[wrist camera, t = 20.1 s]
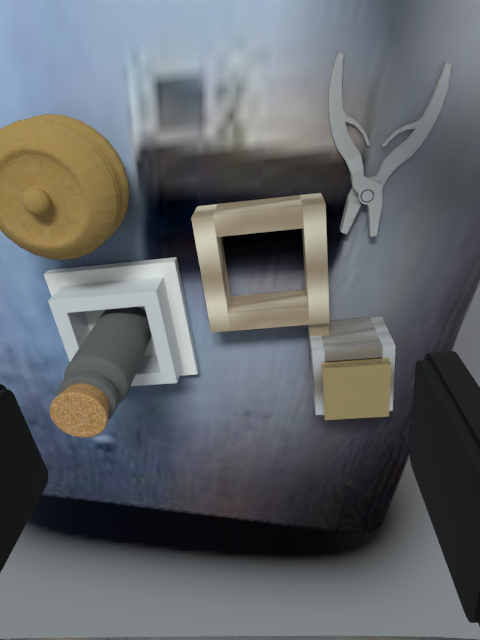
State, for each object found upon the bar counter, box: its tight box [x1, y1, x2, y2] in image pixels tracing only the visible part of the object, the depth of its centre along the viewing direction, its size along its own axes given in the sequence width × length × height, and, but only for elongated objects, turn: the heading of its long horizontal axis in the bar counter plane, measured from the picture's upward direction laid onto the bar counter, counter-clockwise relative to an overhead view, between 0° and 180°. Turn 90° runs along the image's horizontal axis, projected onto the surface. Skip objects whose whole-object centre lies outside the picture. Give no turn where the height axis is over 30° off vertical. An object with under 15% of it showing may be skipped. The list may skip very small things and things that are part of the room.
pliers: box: [328, 52, 452, 237], centre depth 41 cm, size 10×2×15 cm
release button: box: [322, 358, 391, 420], centre depth 48 cm, size 6×6×6 cm
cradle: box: [44, 257, 199, 386], centre depth 50 cm, size 14×14×5 cm
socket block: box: [191, 193, 395, 415], centre depth 47 cm, size 22×18×6 cm
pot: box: [0, 114, 129, 260], centre depth 40 cm, size 12×12×10 cm
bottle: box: [50, 307, 152, 437], centre depth 44 cm, size 6×6×15 cm
